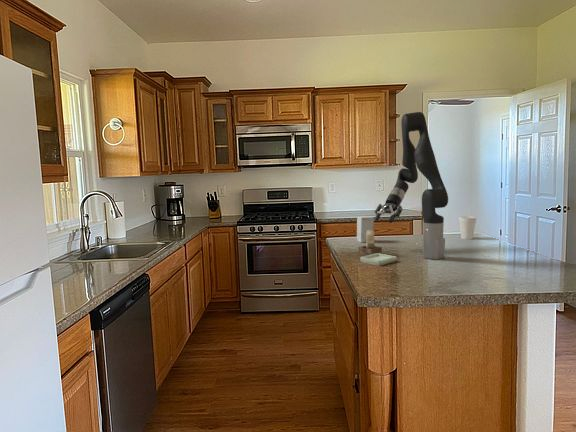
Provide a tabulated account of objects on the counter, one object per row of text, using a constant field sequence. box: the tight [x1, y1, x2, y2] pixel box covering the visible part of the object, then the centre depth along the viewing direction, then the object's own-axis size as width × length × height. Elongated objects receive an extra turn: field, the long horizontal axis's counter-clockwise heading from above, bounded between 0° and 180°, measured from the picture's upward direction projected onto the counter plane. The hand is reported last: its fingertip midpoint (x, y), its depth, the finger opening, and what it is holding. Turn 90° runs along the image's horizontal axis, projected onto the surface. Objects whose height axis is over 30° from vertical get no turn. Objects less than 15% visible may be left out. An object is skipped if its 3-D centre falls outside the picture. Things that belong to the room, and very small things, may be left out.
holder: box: [358, 245, 383, 256], centre depth 207 cm, size 8×8×4 cm
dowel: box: [365, 229, 375, 249], centre depth 206 cm, size 4×4×12 cm
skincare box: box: [356, 216, 375, 243], centre depth 240 cm, size 8×6×15 cm
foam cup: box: [458, 215, 477, 240], centre depth 244 cm, size 10×9×13 cm
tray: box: [359, 253, 398, 267], centre depth 191 cm, size 11×13×2 cm
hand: (382, 221), depth 212 cm, fingers open, 8 cm apart
